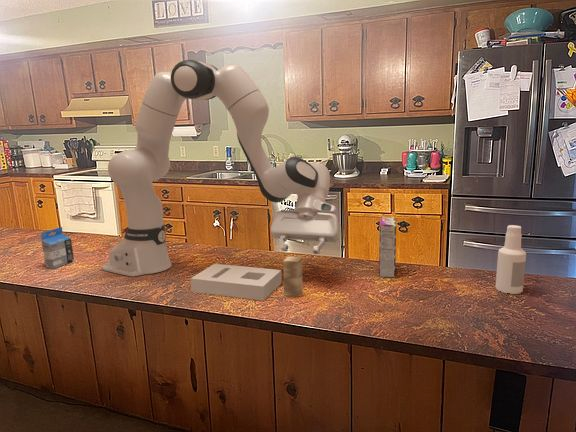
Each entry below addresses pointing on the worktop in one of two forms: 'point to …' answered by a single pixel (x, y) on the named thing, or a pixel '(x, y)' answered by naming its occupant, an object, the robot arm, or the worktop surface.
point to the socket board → (237, 281)
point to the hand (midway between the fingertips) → (299, 251)
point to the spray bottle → (511, 263)
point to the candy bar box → (387, 247)
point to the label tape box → (56, 248)
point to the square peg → (292, 276)
